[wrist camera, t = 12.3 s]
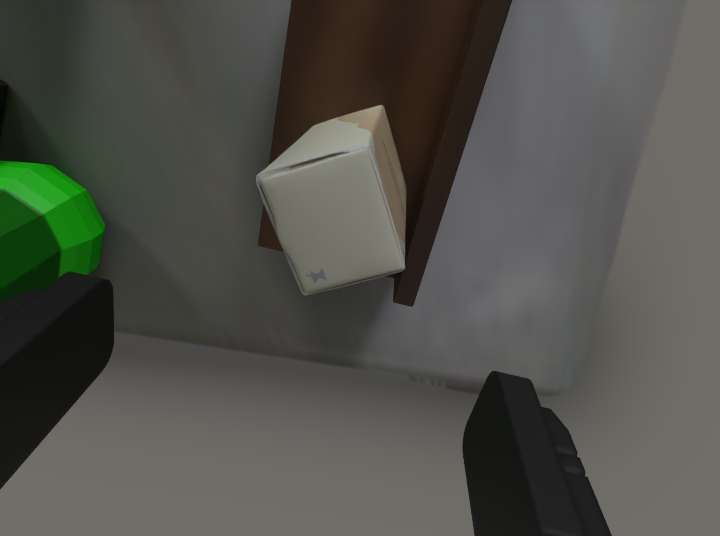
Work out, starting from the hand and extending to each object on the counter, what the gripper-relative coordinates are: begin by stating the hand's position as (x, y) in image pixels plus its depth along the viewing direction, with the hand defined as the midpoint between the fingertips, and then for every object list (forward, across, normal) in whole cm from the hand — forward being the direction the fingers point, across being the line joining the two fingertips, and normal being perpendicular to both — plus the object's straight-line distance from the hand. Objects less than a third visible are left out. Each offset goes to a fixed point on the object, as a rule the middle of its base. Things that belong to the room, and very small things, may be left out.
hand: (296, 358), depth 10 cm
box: (+19, 0, 0) cm, 19 cm away
